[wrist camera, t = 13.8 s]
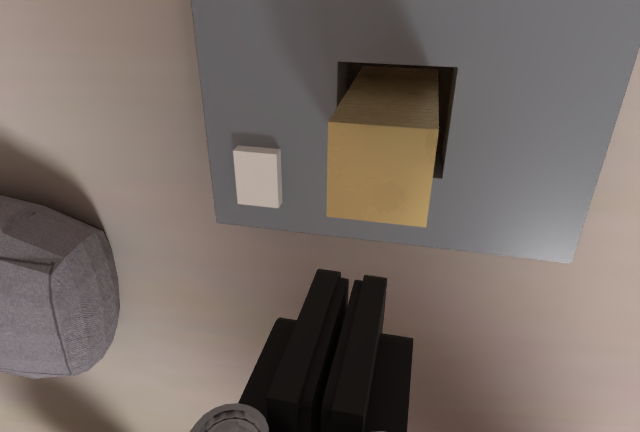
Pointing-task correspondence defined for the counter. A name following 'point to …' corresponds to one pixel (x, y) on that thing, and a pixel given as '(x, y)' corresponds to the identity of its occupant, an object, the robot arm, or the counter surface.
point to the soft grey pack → (53, 292)
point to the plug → (384, 147)
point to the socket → (462, 117)
